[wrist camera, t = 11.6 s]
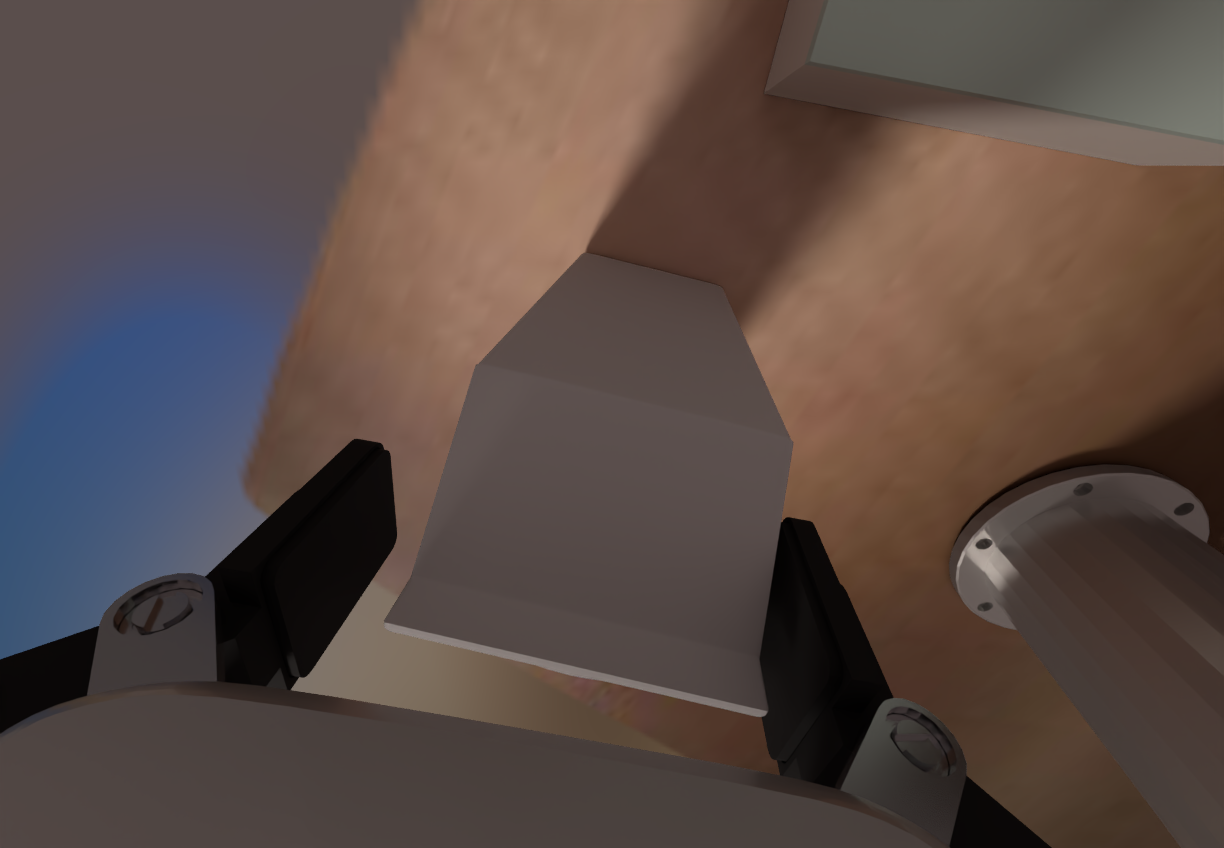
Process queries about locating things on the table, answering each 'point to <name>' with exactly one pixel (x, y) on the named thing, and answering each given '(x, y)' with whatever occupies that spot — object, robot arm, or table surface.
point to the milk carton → (612, 494)
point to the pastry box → (965, 107)
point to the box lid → (1044, 55)
